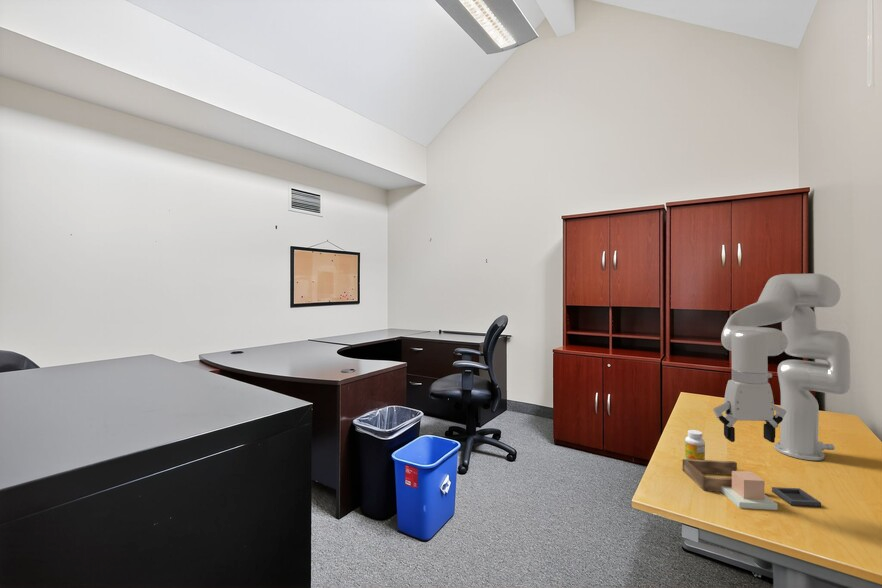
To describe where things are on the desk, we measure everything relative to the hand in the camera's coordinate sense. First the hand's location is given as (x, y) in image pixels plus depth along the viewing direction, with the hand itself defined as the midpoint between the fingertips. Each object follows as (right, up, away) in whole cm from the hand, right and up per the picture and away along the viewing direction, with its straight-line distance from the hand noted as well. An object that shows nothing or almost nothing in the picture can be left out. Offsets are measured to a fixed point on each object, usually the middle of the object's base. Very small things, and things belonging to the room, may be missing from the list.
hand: (749, 440), depth 104 cm
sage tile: (0, -16, 0) cm, 16 cm away
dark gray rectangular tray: (+13, -16, +1) cm, 21 cm away
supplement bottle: (0, -16, +23) cm, 28 cm away
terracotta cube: (0, -15, 0) cm, 15 cm away
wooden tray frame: (-1, -16, +10) cm, 19 cm away
